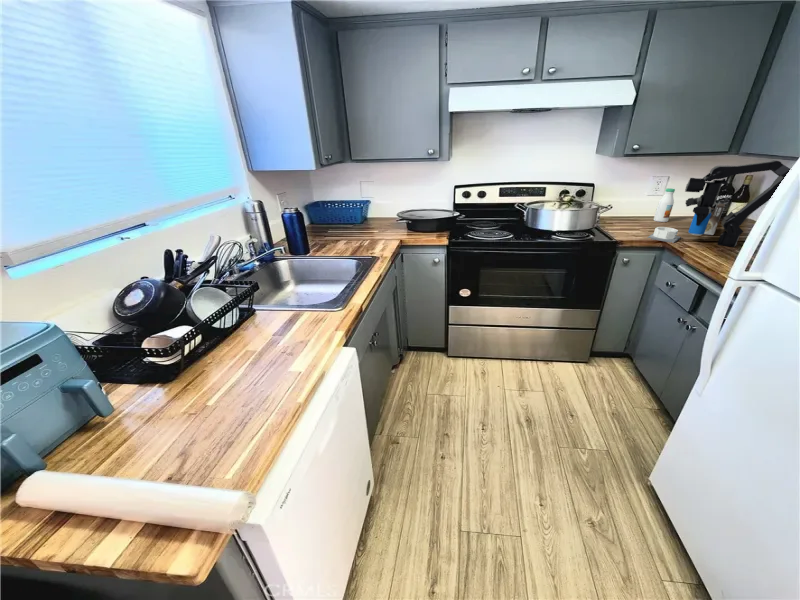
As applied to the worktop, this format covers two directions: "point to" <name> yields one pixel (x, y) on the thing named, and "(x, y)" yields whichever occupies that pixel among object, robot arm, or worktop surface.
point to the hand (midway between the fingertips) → (699, 224)
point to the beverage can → (701, 228)
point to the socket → (665, 234)
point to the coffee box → (714, 219)
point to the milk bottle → (665, 206)
